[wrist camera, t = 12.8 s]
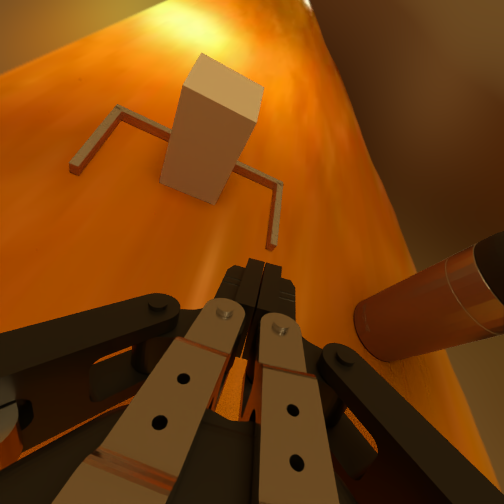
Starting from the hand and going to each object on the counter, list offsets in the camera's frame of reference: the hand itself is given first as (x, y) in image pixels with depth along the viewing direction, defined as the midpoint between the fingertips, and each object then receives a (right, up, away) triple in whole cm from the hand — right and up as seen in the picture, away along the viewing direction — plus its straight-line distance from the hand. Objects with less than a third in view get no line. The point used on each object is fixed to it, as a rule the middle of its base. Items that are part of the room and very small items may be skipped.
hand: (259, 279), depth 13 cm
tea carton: (-9, +13, +29) cm, 33 cm away
